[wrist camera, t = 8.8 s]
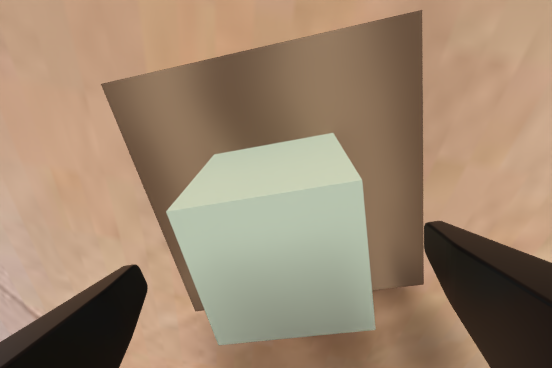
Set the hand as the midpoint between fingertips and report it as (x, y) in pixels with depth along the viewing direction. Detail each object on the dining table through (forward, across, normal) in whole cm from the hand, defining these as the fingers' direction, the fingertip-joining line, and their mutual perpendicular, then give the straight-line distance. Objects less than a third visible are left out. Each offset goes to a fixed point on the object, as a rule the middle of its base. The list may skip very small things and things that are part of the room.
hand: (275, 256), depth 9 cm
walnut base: (+8, 0, 0) cm, 8 cm away
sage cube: (+4, 0, 0) cm, 4 cm away
